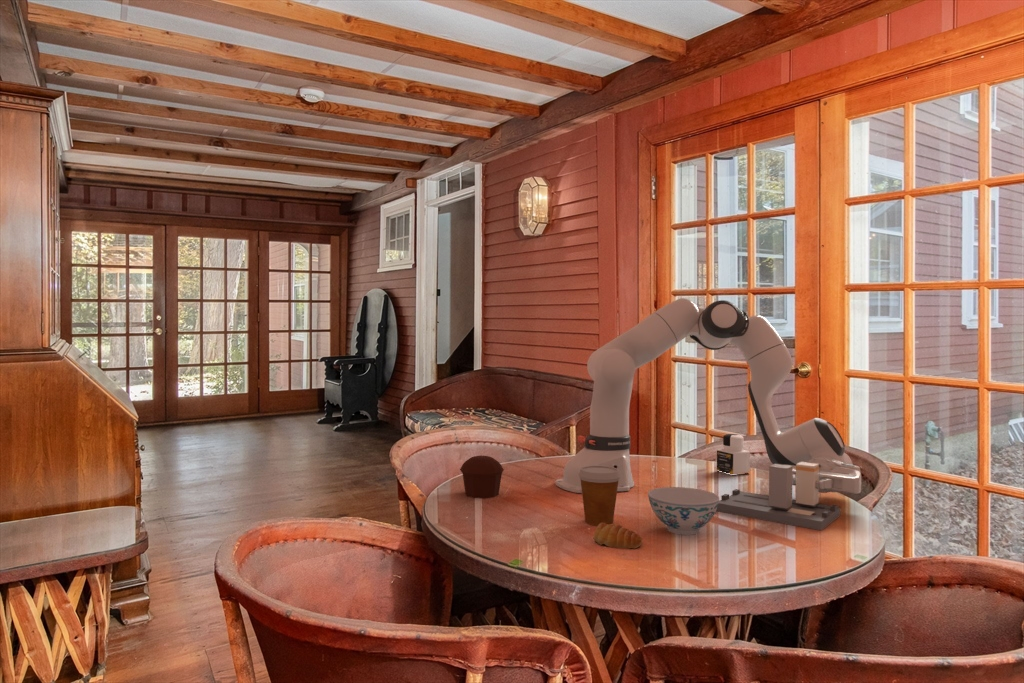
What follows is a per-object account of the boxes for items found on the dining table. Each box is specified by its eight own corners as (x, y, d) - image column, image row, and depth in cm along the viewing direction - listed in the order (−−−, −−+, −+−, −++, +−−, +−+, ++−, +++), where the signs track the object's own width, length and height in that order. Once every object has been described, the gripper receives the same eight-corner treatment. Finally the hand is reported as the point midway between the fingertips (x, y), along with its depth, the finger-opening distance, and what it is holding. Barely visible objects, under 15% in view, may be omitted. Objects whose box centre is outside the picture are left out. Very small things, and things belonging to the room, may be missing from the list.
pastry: (646, 544, 131) (646, 525, 131) (635, 553, 126) (635, 534, 125) (603, 536, 136) (603, 518, 136) (590, 545, 130) (590, 526, 130)
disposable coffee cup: (626, 520, 148) (626, 468, 148) (610, 530, 140) (611, 475, 139) (588, 514, 153) (588, 463, 153) (570, 523, 144) (571, 470, 144)
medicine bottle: (716, 471, 203) (716, 433, 203) (733, 469, 206) (733, 432, 206) (732, 476, 197) (733, 436, 197) (750, 474, 200) (750, 435, 200)
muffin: (510, 492, 174) (510, 455, 174) (492, 501, 164) (492, 462, 164) (471, 487, 179) (472, 451, 179) (451, 496, 169) (452, 458, 169)
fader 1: (768, 508, 150) (769, 466, 150) (774, 504, 153) (774, 463, 153) (786, 511, 148) (787, 468, 148) (792, 507, 151) (792, 466, 151)
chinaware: (670, 543, 131) (670, 505, 131) (635, 523, 145) (636, 489, 145) (733, 537, 135) (733, 501, 135) (694, 518, 150) (694, 485, 150)
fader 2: (795, 505, 153) (795, 464, 153) (800, 502, 156) (801, 461, 156) (813, 508, 150) (814, 466, 150) (818, 504, 153) (819, 463, 153)
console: (715, 510, 156) (715, 498, 156) (739, 498, 169) (739, 487, 169) (821, 530, 141) (822, 516, 141) (840, 515, 153) (840, 503, 153)
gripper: (780, 456, 170) (762, 464, 159) (867, 467, 157) (853, 476, 146) (780, 480, 170) (761, 490, 159) (866, 493, 157) (853, 504, 146)
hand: (806, 483), depth 153 cm, fingers closed on fader 2, 4 cm apart
